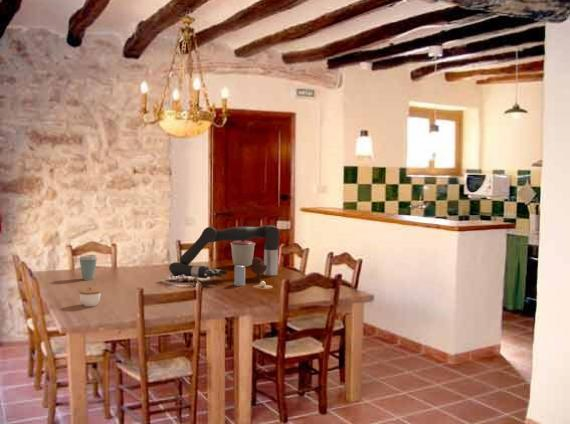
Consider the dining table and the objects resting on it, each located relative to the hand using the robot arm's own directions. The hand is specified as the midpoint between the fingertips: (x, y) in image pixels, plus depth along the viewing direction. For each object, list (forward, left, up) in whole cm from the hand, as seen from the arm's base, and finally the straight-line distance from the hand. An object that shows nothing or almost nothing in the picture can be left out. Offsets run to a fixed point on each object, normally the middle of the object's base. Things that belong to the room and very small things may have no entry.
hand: (224, 273), depth 370 cm
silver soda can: (0, +10, -7) cm, 12 cm away
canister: (-65, -13, -7) cm, 66 cm away
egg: (0, +25, -6) cm, 26 cm away
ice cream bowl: (-20, +15, -7) cm, 26 cm away
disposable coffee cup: (+19, -84, -7) cm, 86 cm away
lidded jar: (+76, -43, -7) cm, 88 cm away
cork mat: (0, +25, -7) cm, 26 cm away
